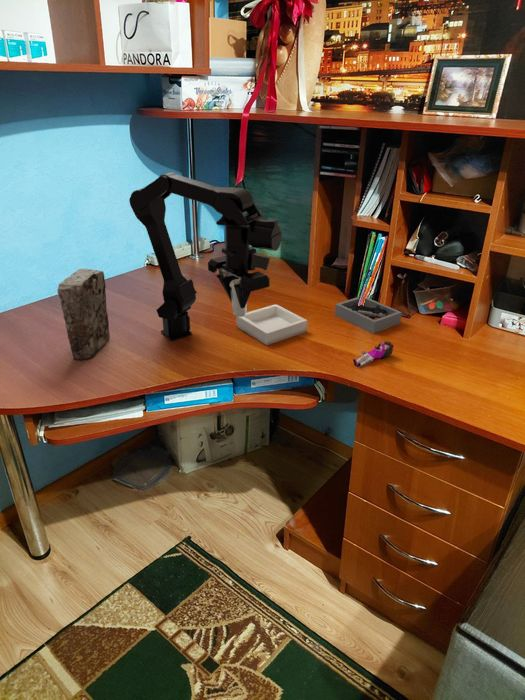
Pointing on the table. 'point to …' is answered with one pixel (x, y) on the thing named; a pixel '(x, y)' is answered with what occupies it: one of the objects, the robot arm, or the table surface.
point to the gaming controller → (369, 311)
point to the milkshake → (236, 300)
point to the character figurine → (375, 353)
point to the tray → (272, 324)
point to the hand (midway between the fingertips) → (238, 305)
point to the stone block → (85, 312)
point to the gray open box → (365, 322)
